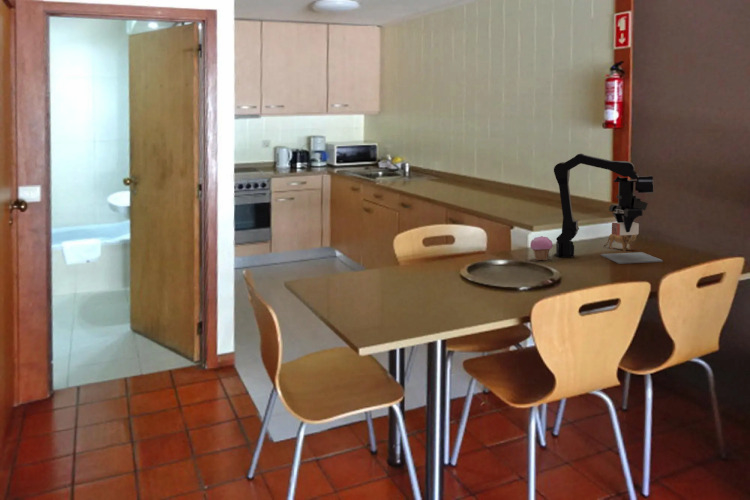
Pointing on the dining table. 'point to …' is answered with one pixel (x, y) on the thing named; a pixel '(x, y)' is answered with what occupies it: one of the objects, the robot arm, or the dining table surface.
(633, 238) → the lion figurine
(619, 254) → the mat
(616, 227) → the beige rectangular block
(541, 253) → the cupcake
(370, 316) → the dining table surface
